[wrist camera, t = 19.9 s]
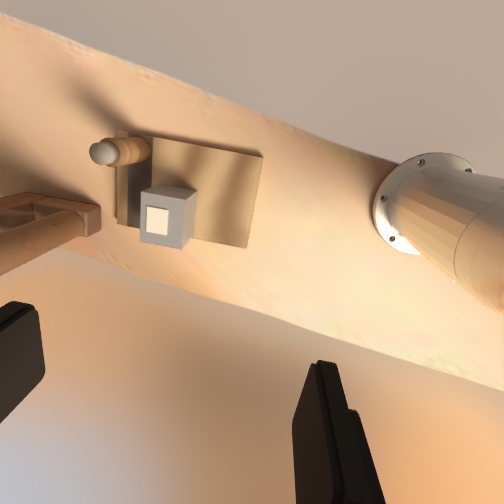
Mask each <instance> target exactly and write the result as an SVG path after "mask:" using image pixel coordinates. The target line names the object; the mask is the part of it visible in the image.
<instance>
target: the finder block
mask: <svg viewBox="0 0 504 504" xmlns="http://www.w3.org/2000/svg"><path fill="white" fill-rule="evenodd" d="M197 194H198V191H194V190H189V189H184V188H178V187H173V186H168V185H162V184H158V185H156V186H153V187H151V188H149V189H146V190H144V191H141V215H140V242H144V243H149V244H154V245H160V246H165V247H170V248H176V249H182V248H183V247H184V246H185V244H186V243H187V242H188V241H189V240H190V238H191V237H192V236H193V234H194V224H195V214H196V204H197Z"/></svg>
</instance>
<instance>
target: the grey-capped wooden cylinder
mask: <svg viewBox="0 0 504 504" xmlns="http://www.w3.org/2000/svg"><path fill="white" fill-rule="evenodd" d="M151 153H152V149H151V146H150V144H149V142H148V141H147V140H146V139H144V138H141V137H123V138H104V139H102V140H101V141H100V142H99V143H94V144H92V145H91V147H90V149H89V154H90V157H91V159H92V160H93V161H94V162H95V163H96V164H99V165H107V166H109V167H118V166H123V165H128V164H133V163H137V162H142V161H146V160H148V159H149V158H150V156H151Z"/></svg>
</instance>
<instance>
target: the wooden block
mask: <svg viewBox="0 0 504 504" xmlns="http://www.w3.org/2000/svg"><path fill="white" fill-rule="evenodd" d="M100 230H101V207H100V206H98V205H92V204H87V203H82V202H76V201H71V200H65V199H60V198H55V197H48V196H44V195H39V194H33V193H28V192H24V193H20V194H15V195H11V196H7V197H2V198H0V276H1V275H3V274H5V273H7V272H9V271H11V270H13V269H14V268H17V267H19V266H20V265H22V264H24V263H26V262H28V261H30V260H32V259H34V258H36V257H38V256H40V255H42V254H44V253H46V252H48V251H50V250H52V249H53V248H56V247H58V246H60V245H62V244H64V243H66V242H68V241H70V240H72V239H74V238H76V237H77V236H83V237H89V236H90V235H92V234H94V233H96V232H98V231H100Z"/></svg>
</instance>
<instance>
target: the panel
mask: <svg viewBox="0 0 504 504" xmlns="http://www.w3.org/2000/svg"><path fill="white" fill-rule="evenodd" d="M123 137H141V138H144V139H146V140H147V141H148V142H149V144H150V146H151V149H152V153H151V156H150V158H149V159H148V160H146V161H142V162H137V163H133V164H128V165H123V166H118V167H117V224H120V225H125V226H129V227H134V228H139V229H140V215H141V191H144V190H146V189H149V188H151V187H153V186H156V185H158V184H162V185H168V186H173V187H178V188H184V189H189V190H194V191H198V194H197V204H196V214H195V224H194V234H193V236H192V237H191V238H193V239H198V240H203V241H209V242H214V243H219V244H224V245H230V246H235V247H240V248H245V249H246V248H247V244H248V238H249V233H250V227H251V222H252V216H253V211H254V205H255V200H256V194H257V189H258V184H259V178H260V173H261V167H262V162H263V157H259V156H253V155H248V154H243V153H238V152H232V151H227V150H222V149H217V148H211V147H206V146H201V145H196V144H191V143H185V142H180V141H175V140H170V139H164V138H159V137H154V136H149V135H143V134H138V133H133V132H128V131H123V130H117V138H123Z"/></svg>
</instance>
